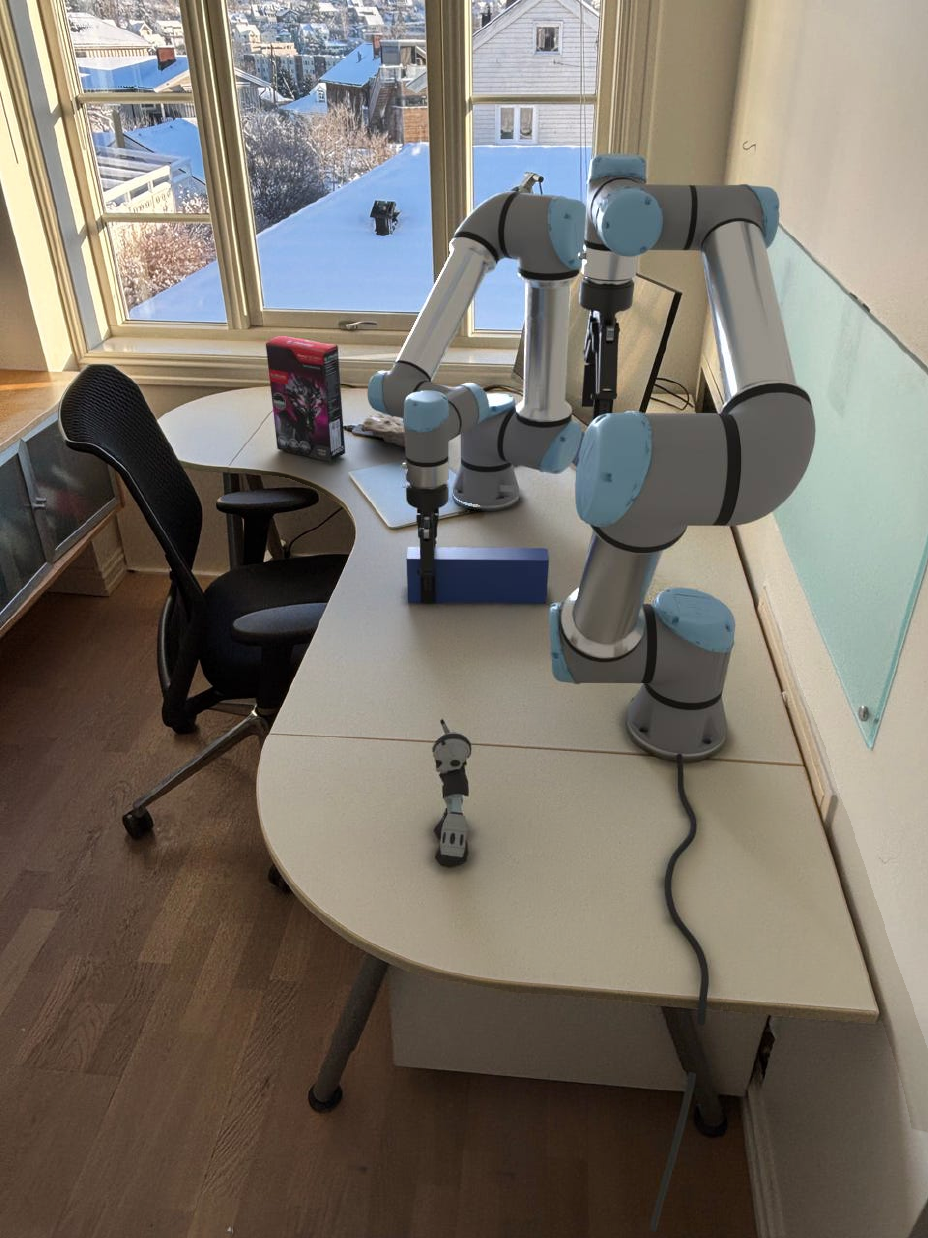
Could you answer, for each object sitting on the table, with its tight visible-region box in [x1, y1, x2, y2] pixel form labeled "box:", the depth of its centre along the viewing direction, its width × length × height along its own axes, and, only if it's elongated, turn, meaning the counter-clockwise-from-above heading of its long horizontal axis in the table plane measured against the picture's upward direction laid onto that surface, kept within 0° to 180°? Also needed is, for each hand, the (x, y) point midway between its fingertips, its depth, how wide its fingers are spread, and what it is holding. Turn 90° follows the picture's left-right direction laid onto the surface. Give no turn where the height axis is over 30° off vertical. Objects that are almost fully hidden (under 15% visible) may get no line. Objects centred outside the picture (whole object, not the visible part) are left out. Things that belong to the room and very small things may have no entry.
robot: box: [431, 718, 473, 868], centre depth 118 cm, size 20×5×20 cm, turn 3°
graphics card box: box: [265, 335, 346, 462], centre depth 222 cm, size 17×7×27 cm, turn 62°
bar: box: [406, 546, 550, 605], centre depth 172 cm, size 26×4×9 cm, turn 90°
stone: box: [360, 412, 405, 448], centre depth 233 cm, size 21×15×6 cm
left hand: (428, 592), depth 175 cm, fingers open, 5 cm apart
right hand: (594, 422), depth 140 cm, fingers open, 13 cm apart
